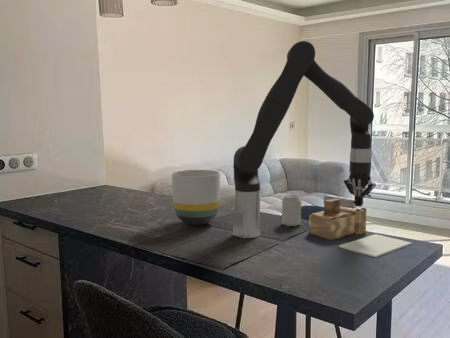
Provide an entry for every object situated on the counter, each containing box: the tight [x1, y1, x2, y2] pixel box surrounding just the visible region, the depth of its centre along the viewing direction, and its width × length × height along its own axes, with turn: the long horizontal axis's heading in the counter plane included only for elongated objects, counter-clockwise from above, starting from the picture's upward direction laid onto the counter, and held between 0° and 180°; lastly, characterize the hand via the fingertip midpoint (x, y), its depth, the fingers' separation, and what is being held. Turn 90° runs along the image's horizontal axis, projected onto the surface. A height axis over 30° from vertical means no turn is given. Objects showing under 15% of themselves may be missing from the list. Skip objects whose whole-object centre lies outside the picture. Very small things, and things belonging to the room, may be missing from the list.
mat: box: [338, 233, 413, 259], centre depth 150 cm, size 22×14×1 cm, turn 129°
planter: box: [171, 169, 221, 226], centre depth 179 cm, size 20×20×21 cm
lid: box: [310, 199, 356, 221], centre depth 165 cm, size 18×9×7 cm, turn 129°
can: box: [281, 194, 302, 227], centre depth 178 cm, size 8×8×12 cm
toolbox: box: [308, 207, 368, 241], centre depth 166 cm, size 18×15×10 cm
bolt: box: [323, 194, 357, 210], centre depth 171 cm, size 2×14×3 cm, turn 39°
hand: (358, 206), depth 164 cm, fingers closed
